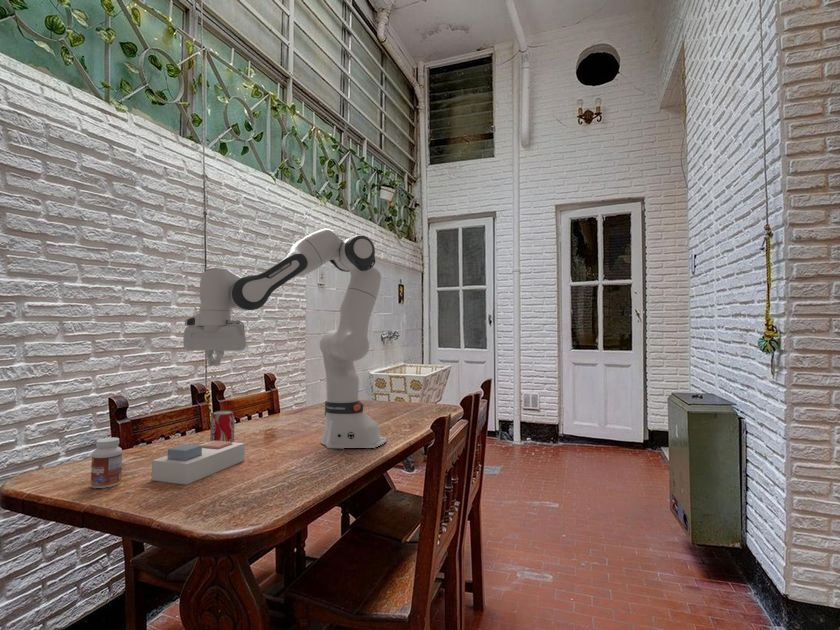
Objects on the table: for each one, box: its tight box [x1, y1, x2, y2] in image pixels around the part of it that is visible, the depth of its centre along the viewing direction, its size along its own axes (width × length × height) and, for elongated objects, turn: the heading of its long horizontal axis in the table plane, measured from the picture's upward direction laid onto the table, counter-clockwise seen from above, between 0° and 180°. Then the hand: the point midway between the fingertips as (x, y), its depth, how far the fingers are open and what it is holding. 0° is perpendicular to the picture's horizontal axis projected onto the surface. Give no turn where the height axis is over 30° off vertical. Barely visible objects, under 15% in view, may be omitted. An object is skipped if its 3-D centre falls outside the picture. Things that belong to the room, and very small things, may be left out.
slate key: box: [167, 443, 202, 461], centre depth 117 cm, size 6×6×4 cm
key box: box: [150, 441, 246, 485], centre depth 123 cm, size 11×22×5 cm, turn 164°
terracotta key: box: [202, 441, 232, 449], centre depth 128 cm, size 6×6×4 cm
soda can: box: [209, 410, 235, 442], centre depth 143 cm, size 7×7×12 cm
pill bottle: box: [90, 437, 123, 489], centre depth 110 cm, size 6×6×11 cm
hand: (214, 365), depth 136 cm, fingers closed
